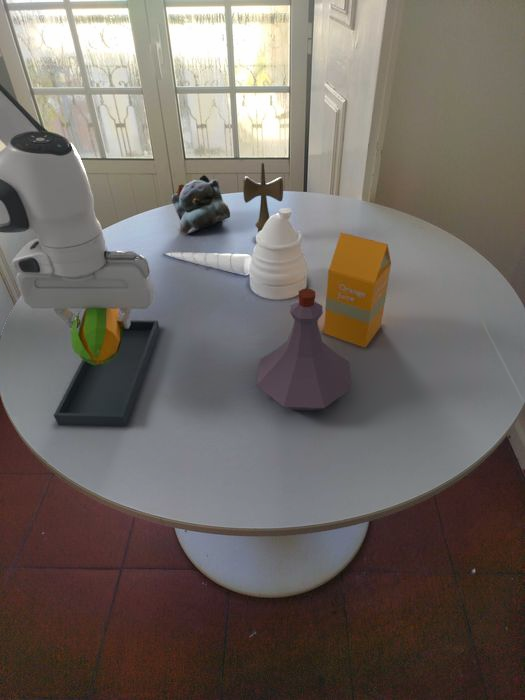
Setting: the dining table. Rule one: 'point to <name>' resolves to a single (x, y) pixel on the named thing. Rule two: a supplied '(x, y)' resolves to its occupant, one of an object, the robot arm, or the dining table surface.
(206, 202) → the lucky cat figurine
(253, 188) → the kendama
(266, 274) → the honey pot
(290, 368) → the flask
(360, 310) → the orange juice
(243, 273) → the unicorn horn
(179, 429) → the dining table surface
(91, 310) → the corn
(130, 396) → the tray
